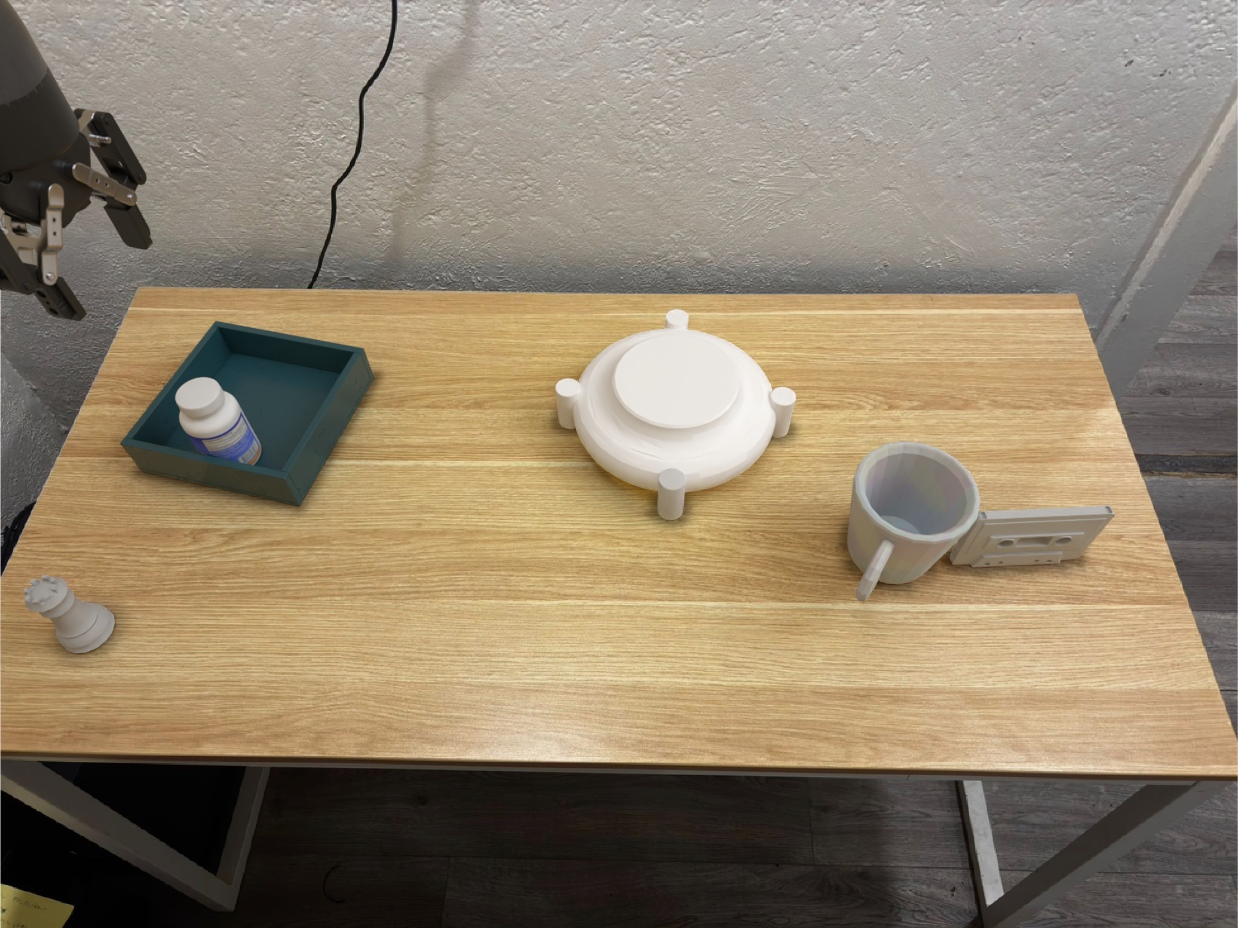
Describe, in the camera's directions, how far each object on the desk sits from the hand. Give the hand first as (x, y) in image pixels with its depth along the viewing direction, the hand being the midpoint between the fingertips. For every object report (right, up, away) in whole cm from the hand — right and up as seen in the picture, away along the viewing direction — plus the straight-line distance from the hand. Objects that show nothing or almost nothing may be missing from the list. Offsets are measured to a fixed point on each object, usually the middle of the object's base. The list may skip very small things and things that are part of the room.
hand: (108, 280), depth 65 cm
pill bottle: (+1, -14, +20) cm, 24 cm away
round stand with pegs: (+45, -10, +23) cm, 52 cm away
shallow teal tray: (+2, -10, +23) cm, 25 cm away
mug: (+63, -24, +12) cm, 69 cm away
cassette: (+76, -23, +13) cm, 81 cm away
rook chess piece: (-7, -29, +9) cm, 31 cm away
